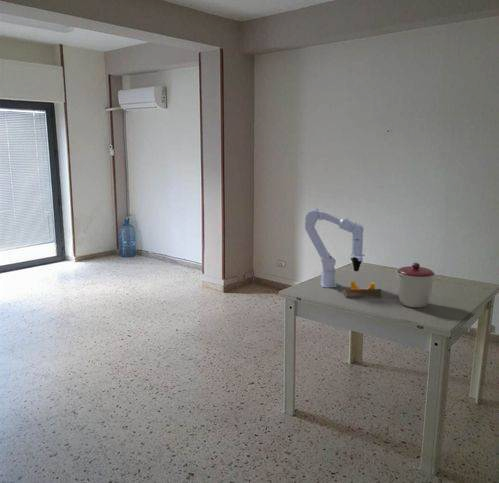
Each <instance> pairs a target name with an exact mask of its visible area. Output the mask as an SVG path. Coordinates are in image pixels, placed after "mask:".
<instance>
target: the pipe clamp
mask: <svg viewBox="0 0 499 483" xmlns="http://www.w3.org/2000/svg"><path fill="white" fill-rule="evenodd" d="M375 283H376V282H370V285H369V287H367V288H366V289H376V287H375V286H376V284H375ZM355 289H361V288H359V287H358V286H357V284H356V281H354V280H351V281H350V289H349V290H355Z"/></svg>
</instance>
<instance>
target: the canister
mask: <svg viewBox="0 0 499 483" xmlns="http://www.w3.org/2000/svg"><path fill="white" fill-rule="evenodd" d="M395 273H396V274H397V275H396V276H397V290H398V291H397V292H398V300H399V303H400V304H401V305H403V306H405V307H408V308H413V309H416V308H420V309H421V308H424V307H426V306H428V304H429V302H430V299H431V293H432V288H433V282H434V278H435V276H436V272H434V271H433V270H432V269H430V268H427V267H421V265H420V263H419V262H414V263H412V264H411V266H410V265H409V266H402V267H400V268H398V269H396V270H395Z"/></svg>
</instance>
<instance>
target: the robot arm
mask: <svg viewBox="0 0 499 483" xmlns="http://www.w3.org/2000/svg"><path fill="white" fill-rule="evenodd" d="M304 219H305V221H304V228H305V231H306V234H307V235H308V237H309V239H310V240H311V242H312V244H313V246H314V248H315V250H316V251H317V253H318V255H319V257H320V262H321V263H322V269H321V270H322V271H321V273H320V274H321V279H320V280H321V281H319V285H321V287H322V288H337V287H338V285H337V284H336V268H335V266H336V259H335V258H334V257H333V256H332V255H331V253H330V252H329V251H328V249H327V248H326V246H325V244H324V243H323V240H322V238H321V237H320V234H319V233H318V231H317V228H316V227H315V226H316V223H317V221H322V220H325V221H328V222H330V223H333V224H336V225H337V226H338V228H339V229H341V230H343V231H346V232H348V233H352V238H351V252H350V253H351V254H350V255H351V256H350V260H351V262H352V267H353V271H354V272H360V267H361V264H362V262H363V260H364V259H363V257H365V254H364V253H363V249H364V248H363V245H364V238H363V237H364V226H363V225H362V224H360V223H357V222H354V221H351V220H349V218H339V217H338V216H335V215H332V214H331V213H328V212H326V211H323V209H322V210H321V209H318V208H315V207H313V208H311V209H310V210H309V211H307V214H306V215H305V218H304Z"/></svg>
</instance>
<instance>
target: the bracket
mask: <svg viewBox="0 0 499 483" xmlns="http://www.w3.org/2000/svg"><path fill="white" fill-rule="evenodd" d="M381 292H382V289H381V288H375V289H367V288H365V289H363V288H360V289H355V290H350V289H344V290H343V291H342V295H343V294H344V295H343V296H344V297H345V298H346V299H348V298H349V299H353V298H380V297H381ZM351 297H352V298H351Z"/></svg>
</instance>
